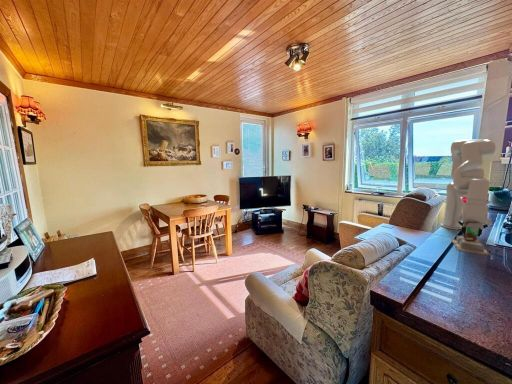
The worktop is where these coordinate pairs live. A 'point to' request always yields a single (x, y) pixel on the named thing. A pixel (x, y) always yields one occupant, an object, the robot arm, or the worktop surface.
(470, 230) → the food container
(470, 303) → the worktop surface
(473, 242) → the beige rectangular frame
